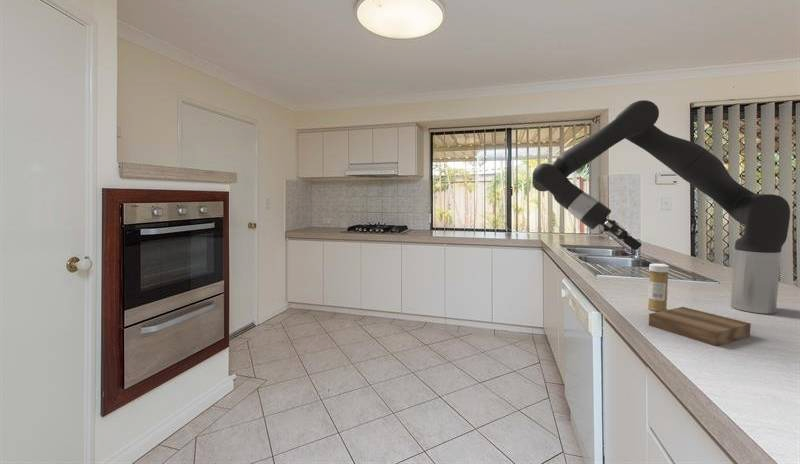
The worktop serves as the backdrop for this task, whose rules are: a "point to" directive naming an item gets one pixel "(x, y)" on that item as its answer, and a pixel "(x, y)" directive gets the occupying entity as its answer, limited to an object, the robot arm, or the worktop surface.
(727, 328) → the walnut base
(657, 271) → the spice jar
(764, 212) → the robot arm
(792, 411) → the worktop surface
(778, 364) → the worktop surface
